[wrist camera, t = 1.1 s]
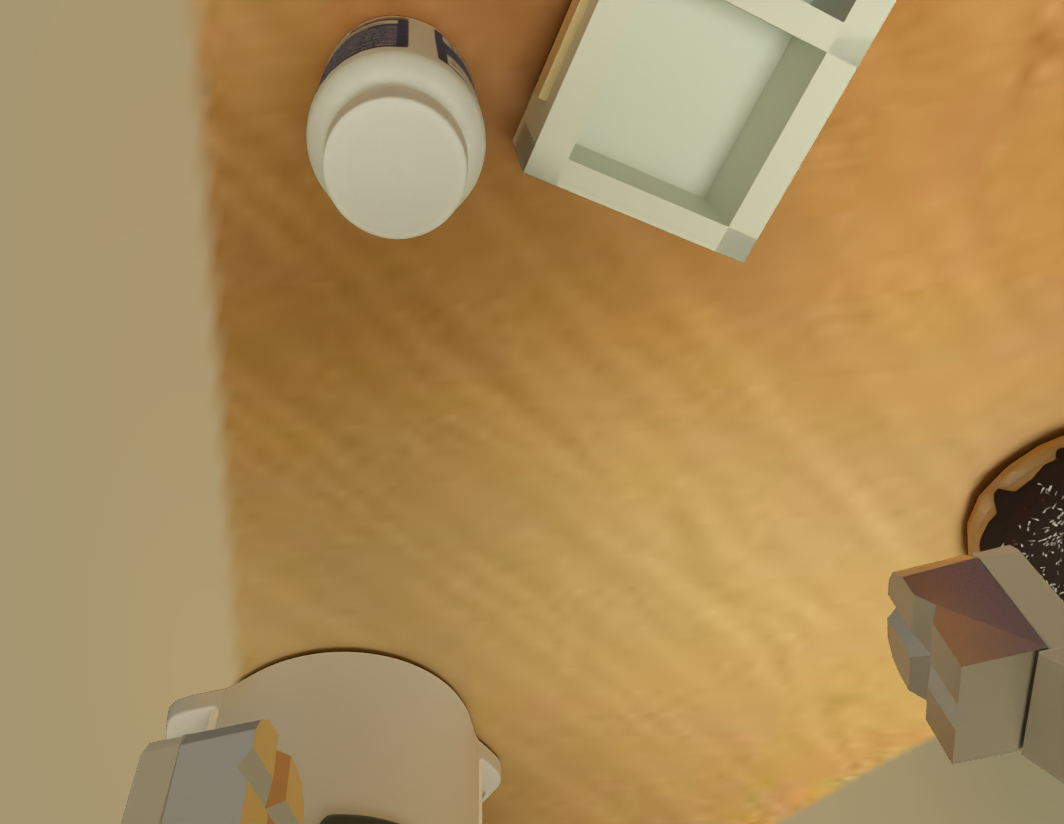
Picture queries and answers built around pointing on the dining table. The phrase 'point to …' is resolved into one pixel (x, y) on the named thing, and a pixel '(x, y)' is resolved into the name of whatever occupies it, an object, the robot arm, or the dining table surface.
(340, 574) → the dining table surface
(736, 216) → the rack
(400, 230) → the pill bottle
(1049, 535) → the donut
